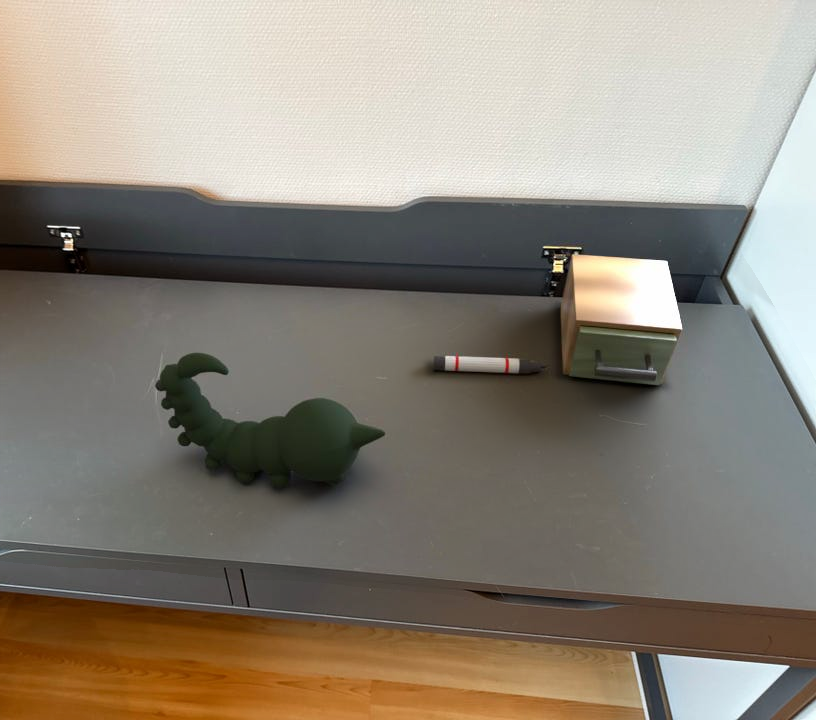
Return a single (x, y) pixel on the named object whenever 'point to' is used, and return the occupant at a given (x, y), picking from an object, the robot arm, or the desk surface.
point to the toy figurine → (264, 431)
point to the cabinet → (617, 298)
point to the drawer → (621, 355)
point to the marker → (486, 364)
